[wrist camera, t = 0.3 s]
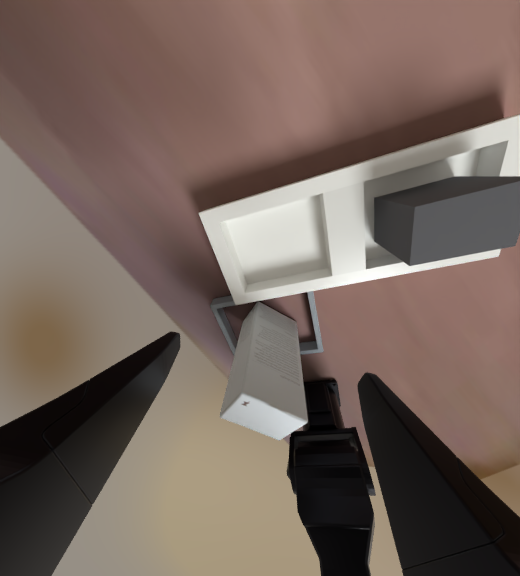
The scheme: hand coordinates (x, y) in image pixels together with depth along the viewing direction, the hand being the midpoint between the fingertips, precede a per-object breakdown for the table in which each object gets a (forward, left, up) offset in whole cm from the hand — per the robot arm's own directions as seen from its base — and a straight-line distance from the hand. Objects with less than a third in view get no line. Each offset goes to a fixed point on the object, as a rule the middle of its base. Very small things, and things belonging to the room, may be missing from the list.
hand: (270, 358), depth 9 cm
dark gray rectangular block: (+1, -13, -13) cm, 18 cm away
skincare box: (-9, +3, -14) cm, 16 cm away
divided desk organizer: (+1, -7, -14) cm, 15 cm away
